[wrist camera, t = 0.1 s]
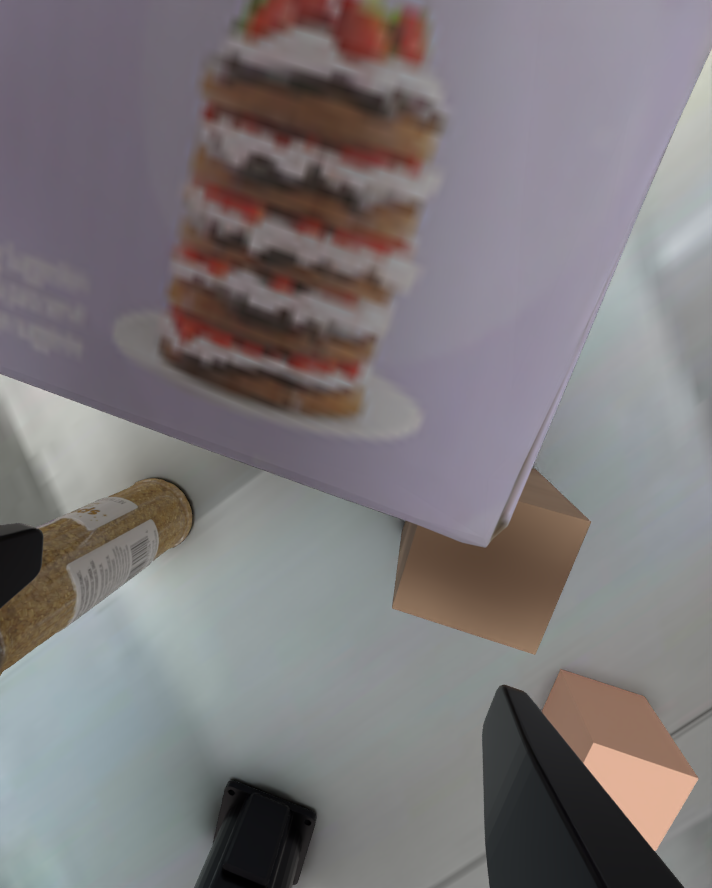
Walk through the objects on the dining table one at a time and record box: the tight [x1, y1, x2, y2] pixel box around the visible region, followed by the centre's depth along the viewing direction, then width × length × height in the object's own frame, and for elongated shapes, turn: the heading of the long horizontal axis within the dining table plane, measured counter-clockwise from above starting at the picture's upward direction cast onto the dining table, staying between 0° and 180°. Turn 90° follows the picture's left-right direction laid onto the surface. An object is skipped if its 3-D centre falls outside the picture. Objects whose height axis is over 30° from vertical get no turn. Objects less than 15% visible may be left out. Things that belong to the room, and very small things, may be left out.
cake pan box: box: [0, 0, 712, 548], centre depth 12 cm, size 19×5×18 cm, turn 73°
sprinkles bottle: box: [0, 478, 192, 675], centre depth 18 cm, size 5×5×14 cm
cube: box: [542, 669, 699, 851], centre depth 20 cm, size 4×4×4 cm
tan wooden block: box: [392, 468, 591, 655], centre depth 18 cm, size 6×6×7 cm
